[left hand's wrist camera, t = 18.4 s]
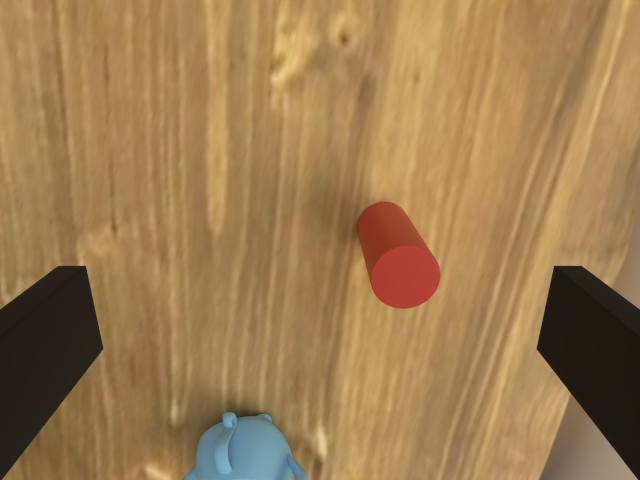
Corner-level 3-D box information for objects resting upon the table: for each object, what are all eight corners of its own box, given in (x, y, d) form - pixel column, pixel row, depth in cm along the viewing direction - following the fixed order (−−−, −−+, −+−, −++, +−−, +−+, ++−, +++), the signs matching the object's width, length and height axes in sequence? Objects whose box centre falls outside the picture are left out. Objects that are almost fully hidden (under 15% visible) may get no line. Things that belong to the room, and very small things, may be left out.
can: (352, 208, 47) (365, 253, 35) (404, 196, 46) (435, 239, 34) (362, 255, 49) (377, 314, 37) (412, 245, 48) (444, 301, 36)
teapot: (315, 429, 58) (317, 505, 47) (256, 499, 61) (245, 584, 50) (233, 383, 55) (216, 451, 44) (176, 458, 58) (147, 539, 48)
